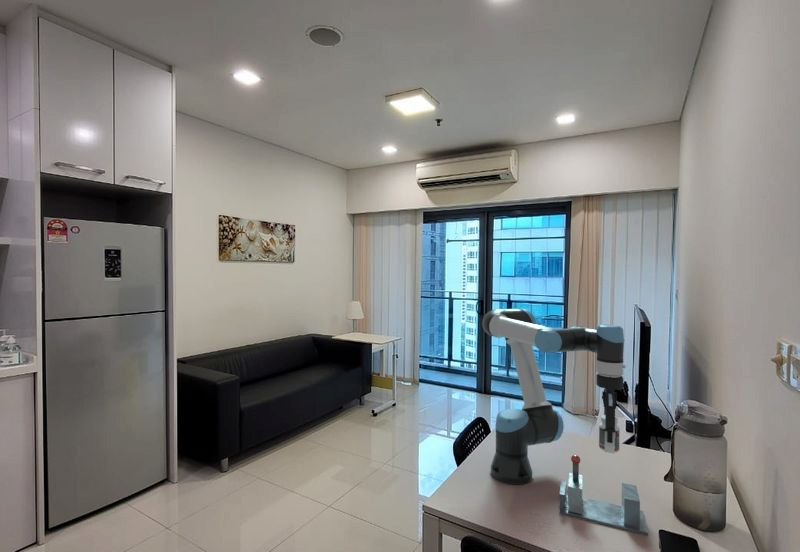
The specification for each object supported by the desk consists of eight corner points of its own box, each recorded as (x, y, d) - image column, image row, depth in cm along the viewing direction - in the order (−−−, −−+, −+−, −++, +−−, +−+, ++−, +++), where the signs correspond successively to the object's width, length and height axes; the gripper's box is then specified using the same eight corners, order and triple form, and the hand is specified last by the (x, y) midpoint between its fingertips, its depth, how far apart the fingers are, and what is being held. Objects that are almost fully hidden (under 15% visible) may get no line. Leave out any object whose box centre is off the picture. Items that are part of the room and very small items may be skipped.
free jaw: (567, 511, 126) (568, 460, 126) (569, 495, 135) (569, 448, 135) (581, 514, 125) (582, 462, 125) (582, 498, 134) (582, 450, 134)
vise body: (559, 513, 127) (559, 485, 127) (561, 495, 137) (561, 469, 137) (648, 535, 116) (648, 505, 116) (642, 513, 127) (643, 485, 127)
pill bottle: (621, 454, 123) (622, 421, 123) (601, 452, 124) (602, 420, 124) (615, 446, 128) (616, 415, 128) (596, 444, 129) (597, 413, 129)
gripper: (626, 382, 116) (625, 463, 116) (621, 369, 133) (620, 439, 133) (597, 379, 119) (596, 457, 119) (595, 367, 136) (595, 435, 136)
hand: (608, 448), depth 126 cm, fingers closed on pill bottle, 6 cm apart
